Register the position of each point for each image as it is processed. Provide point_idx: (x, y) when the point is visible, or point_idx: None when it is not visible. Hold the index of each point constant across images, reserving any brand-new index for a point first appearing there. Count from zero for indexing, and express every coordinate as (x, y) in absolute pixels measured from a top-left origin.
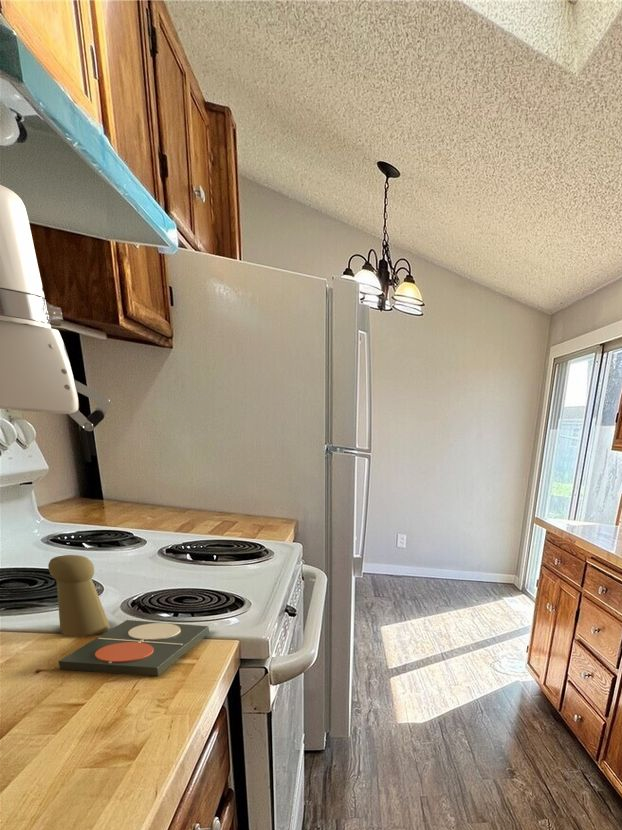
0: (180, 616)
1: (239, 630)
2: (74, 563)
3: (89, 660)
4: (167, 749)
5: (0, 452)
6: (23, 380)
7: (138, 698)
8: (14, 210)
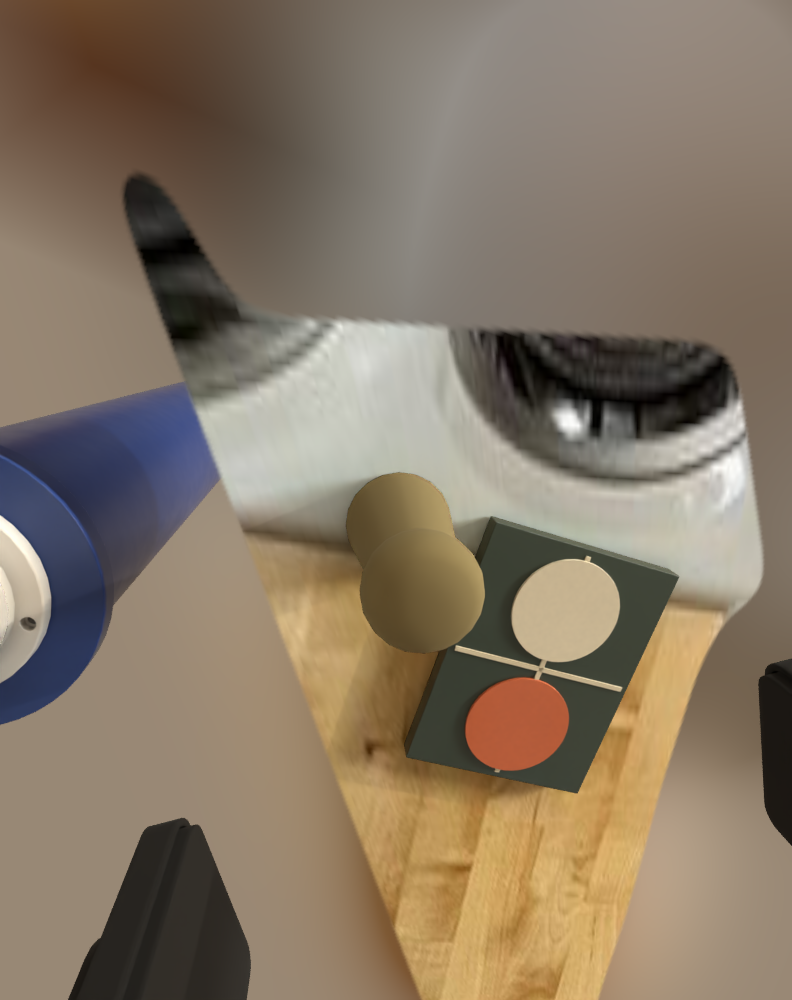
0: (606, 435)
1: (734, 551)
2: (449, 645)
3: (459, 757)
4: (589, 981)
5: (212, 887)
6: None
7: (544, 854)
8: None
